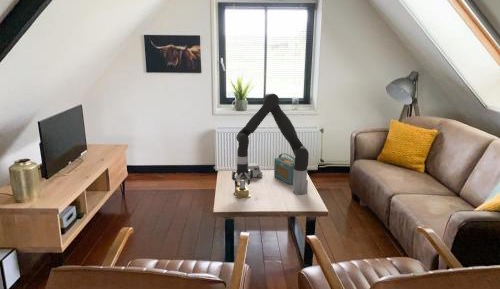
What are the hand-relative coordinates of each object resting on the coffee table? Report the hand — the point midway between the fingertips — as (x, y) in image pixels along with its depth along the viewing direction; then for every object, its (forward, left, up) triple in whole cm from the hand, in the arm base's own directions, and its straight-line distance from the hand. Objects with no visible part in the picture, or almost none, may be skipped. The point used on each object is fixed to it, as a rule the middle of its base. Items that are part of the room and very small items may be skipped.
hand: (242, 185), depth 251 cm
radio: (-44, -22, -8) cm, 50 cm away
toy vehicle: (-19, -37, -8) cm, 43 cm away
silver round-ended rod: (0, 0, -7) cm, 7 cm away
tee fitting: (0, -2, -8) cm, 8 cm away
